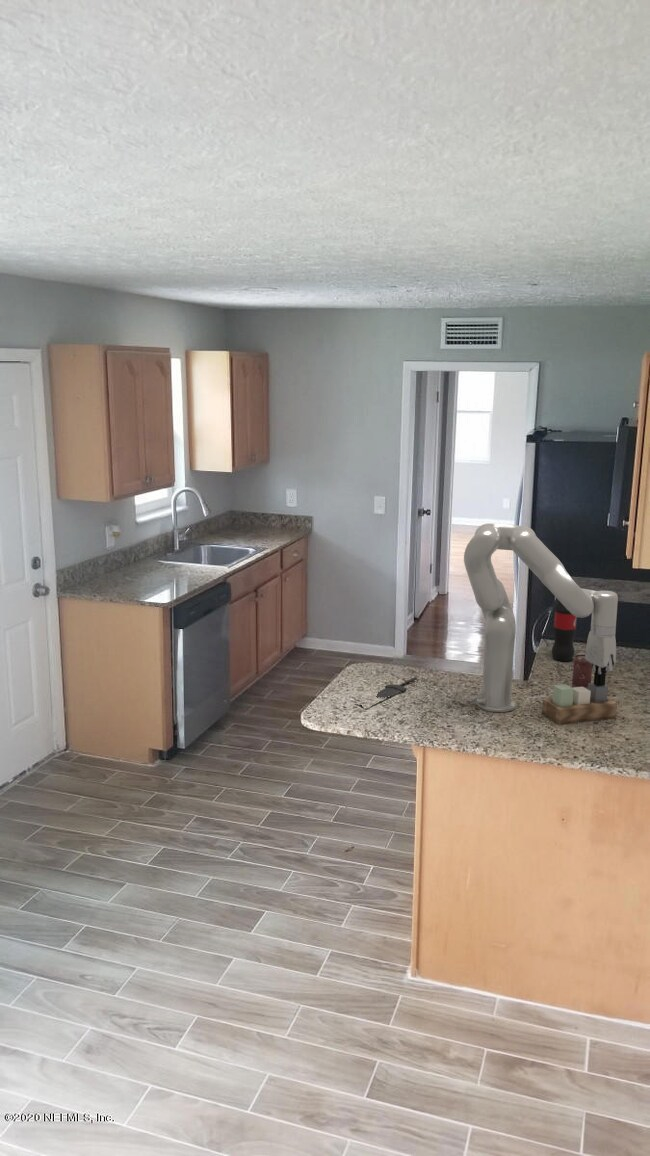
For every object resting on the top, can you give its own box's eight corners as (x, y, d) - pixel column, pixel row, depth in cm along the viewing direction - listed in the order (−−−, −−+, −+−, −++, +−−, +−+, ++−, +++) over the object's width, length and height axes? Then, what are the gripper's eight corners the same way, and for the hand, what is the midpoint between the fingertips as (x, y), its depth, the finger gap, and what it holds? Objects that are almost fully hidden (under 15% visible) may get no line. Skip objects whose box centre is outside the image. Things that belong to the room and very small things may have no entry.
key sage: (560, 710, 277) (561, 689, 276) (552, 706, 281) (553, 685, 280) (572, 709, 279) (573, 688, 277) (564, 704, 283) (565, 684, 281)
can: (591, 699, 298) (594, 660, 295) (571, 698, 299) (575, 658, 296) (589, 693, 304) (592, 654, 301) (570, 692, 305) (573, 653, 302)
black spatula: (349, 708, 290) (349, 702, 289) (407, 678, 317) (407, 673, 316) (367, 712, 286) (367, 707, 285) (424, 682, 312) (424, 677, 312)
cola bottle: (576, 658, 344) (582, 583, 337) (569, 663, 337) (575, 587, 330) (555, 654, 348) (560, 580, 342) (548, 660, 341) (553, 584, 335)
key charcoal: (594, 708, 282) (596, 687, 280) (586, 703, 286) (588, 683, 284) (606, 706, 283) (608, 686, 281) (598, 702, 287) (599, 681, 286)
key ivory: (577, 713, 280) (578, 692, 278) (569, 708, 284) (570, 687, 282) (589, 711, 281) (590, 691, 280) (580, 707, 285) (582, 686, 284)
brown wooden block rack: (559, 725, 275) (560, 710, 274) (541, 714, 284) (542, 699, 283) (615, 717, 282) (617, 703, 280) (596, 707, 291) (598, 692, 290)
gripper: (579, 624, 285) (575, 678, 288) (607, 636, 271) (603, 693, 275) (598, 623, 287) (595, 676, 291) (628, 634, 273) (623, 690, 277)
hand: (599, 684), depth 283 cm, fingers closed
